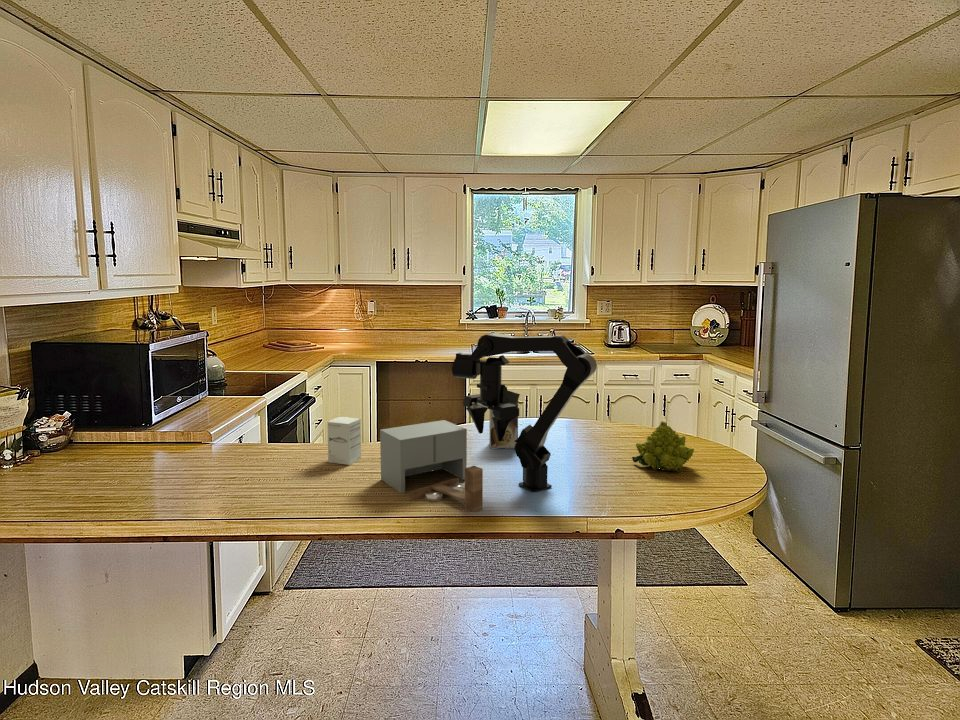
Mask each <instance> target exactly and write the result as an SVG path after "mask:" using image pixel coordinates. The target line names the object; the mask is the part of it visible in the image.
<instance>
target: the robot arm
mask: <svg viewBox="0 0 960 720" xmlns="http://www.w3.org/2000/svg"><path fill="white" fill-rule="evenodd" d="M511 352H512V353H513V352H553V353H554V354H555V355H556V356H557V358H558V359H559V360H560V362H561V363H562V364H563V365H564V366H565V367H566V370H565V373H564V374H563V378H562V381H561V385H560V386H559V387H558V389H557V391H556V392H555V394H554V395H553V397H552V398H551V400H549V402H548V404H547V405H546V407H545V408H544V410H543V412H542V413H541V414H540V416H539V417H538V418H537V420H536V422H535V423H534V425H533V426H532V425H531V424H528V425H527V426H525V427H524V428H523V429H522V430H521V431H520V433H519V435H518V439H516V440H515V442H517V443H516V444H515V447H514V448H513V449H514V453H515V455H516V456H517V458H518V460H519V462H520V465H521V468H522V481H521V482H518V486H520V487H522V488H524V489H526V490H528V491H530V492H535V493H536V492H538V491H542V490H546V489H551V488H552V487H553V486H552V484H549V483H548V471H549V470H548V465H547V462H549V460H550V457H551V456H552V454H551V452H550V451H549V450H548V449H547V447H545V444H546V441H547V437H548V433H549V431H550V430H551V428H552V427H553V425H554V424H555V422H556V421H557V419H558V418H559V417H560V415H561V413H562V412H563V411H564V409H565V407H566V406H567V405H568V403H569V402H570V400H571V399H572V397H573V396H574V395H575V393H576V391H577V390H578V389H579V388H580V387H581V386H582V385H583V384H584V383H586V382H587V381H588V380H589V379H590V378H591V376H593V374H594V373H596V370H597V369H598V365H597V361H596V358H594V357H593V356H592V355H590V354H587V353H585V352H584V351H583V350H582V349H581V348H579V347H578V346H577V345H575V344H574V343H572V342H571V341H570V340H569V339H568V338H567V337H566V336H565V335H563V334H557V335H539V336H538V335H537V336H535V335H534V336H529V335H528V336H514V335H509V334H505V333H499V332H492V333H488V334H483V335H481V336H480V337H479V339H478V341H477V346H476V347H475V349H474V350H473V351H472V352H471V353H464V352H457V353H455V358H454V360H453V362H452V366H451V372H452V375H453V377H454V378H457V379H458V378H460V379H470V380H471V379H472V380H475V379H477V378H478V376H479V383H476V388H478V389H479V393H478V394H471V395H469V394H468V395H466V396H465V397H464V398H463V402H462V405H463V407H465V409H466V410H467V412H468V414H469V416H470V418H471V420H472V421H473V423H474V426H475V428H476V430H477V432H478V434H483V433H484V427H485V426H484V425H485V416H486V415H485V414H486V412H487V411H488V410H489V411H490V410H493V415H494V417H492V418H493V423H494V427H495V431H496V435H497V439H498V441H502V440H503V437H504V434H505V431H506V429H507V426H508V424H509V422H510V421H511V420H512V419H515V418H516V417H518V418H519V417H520V412H521V411H520V410H521V409H520V407H519V406H518V407H517V406H516V405H517V402H518V403H519V399H520V396H521V394H520V393H517V392H514V391H511V390H508V386H506V385H505V384H504V383H502V370H503V369H502V366H506V365H509V364H510V360H508V359H507V358H506V357H505V355H504V354H507V353H511ZM502 354H503V355H502ZM496 355H497V356H498V355H499V356H498V357H493V356H496ZM486 357H487V359H483V358H486ZM506 402H508V403H513V404H514V405H513V404H505V403H506ZM500 404H502V405H500Z"/></svg>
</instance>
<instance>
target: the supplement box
mask: <svg viewBox="0 0 960 720" xmlns="http://www.w3.org/2000/svg"><path fill="white" fill-rule="evenodd" d="M361 421H362V418H356V417H346V416H338V417H335V418H333V419H331V420H328V421H327V462H328V463H329V464H339V465H346V466H351V465H352V464H354V463H356V462H358V461H359V460H361V459H362V439H361V438H362V434H361V433H362V430H361V429H362V428H361V427H362V426H361V425H362V423H361ZM360 458H361V459H360ZM357 460H358V461H357Z"/></svg>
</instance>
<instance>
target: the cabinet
mask: <svg viewBox="0 0 960 720" xmlns="http://www.w3.org/2000/svg"><path fill="white" fill-rule="evenodd" d="M467 430H468V429H467V428H464V427H462V426H460V425H458V424H455V423H453V422H451V421H447V420H445V419H442V420H437V421H436V420H435V421H428V422H423V423H422V422H421V423H415V424H409V425H403V426H395V427H390V428H389V427H388V428H382V429H379V433H380V435H379V437H380V440H379V442H380V444H379V445H380V480H381V481H383V482H384V483H385V484H387V485H388V486H390V487H391V488H393V489H395V490H396V491H398V492H399V493H400V494H403V493H406V477H410V476H414V475H419V474H423V473H422V472H424V473H428V471H429V472H433V471H432V470H434V471H438V470H437V469H439V470H444V469H445V470H444V471H446V470H447V471H446V472H448V473H450V474H451V475H453V474H454V476H455V475H456V477H457V476H458V477H457V478H460V479H461V480H465V468H468V467H467V463H468V461H467V460H468V459H467V456H468V455H467V452H468V451H467V448H468V446H467V444H468V443H467V441H468V439H467V432H468V431H467ZM442 468H443V469H442ZM418 473H419V474H418ZM413 474H414V475H413Z"/></svg>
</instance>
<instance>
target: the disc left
mask: <svg viewBox="0 0 960 720" xmlns="http://www.w3.org/2000/svg"><path fill="white" fill-rule="evenodd" d="M424 500H425V501H427V502H431V503H432V502H433V503H434V502H435V503H436V502H440V501H441V500H443V493H441V492H439V491H436V490H429V491H426V492H425V497H424Z"/></svg>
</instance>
